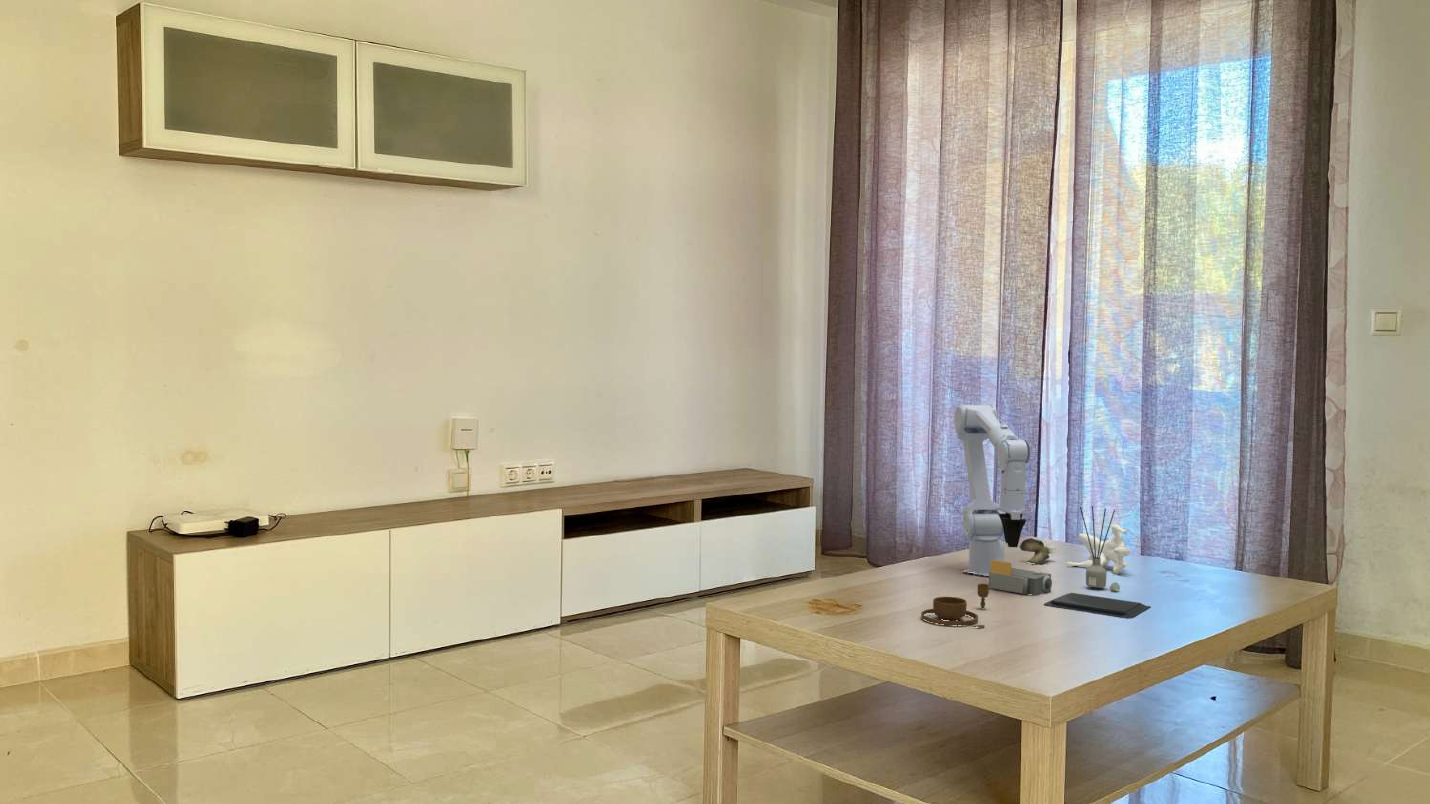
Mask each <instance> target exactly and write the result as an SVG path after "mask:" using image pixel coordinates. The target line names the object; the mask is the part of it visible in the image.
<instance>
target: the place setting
mask: <svg viewBox="0 0 1430 804" xmlns="http://www.w3.org/2000/svg"><path fill="white" fill-rule="evenodd" d="M989 593H990V588H989V584H988V583H987V584H986V583H979V584H977V595H978V597H980V603H979V604H980V608H985V606H986V601H985V600H986V598H987V597H988V596H989ZM932 601H933V603H932V605H933V607H932V608H929V609H924V610H923V611H921V613H920V614H921V615H920V616H921V618H923V619H925V620H927V621H929V622H933V623H938V624H944V625H957V626H958V625H962V626H961V627H964V626H963V625H970V626H971V627H976V626H977V627H979V628H978V629H977V630H980V628H982V629H984V628H985V624H977V623H978V620H979V615H978V614H976V613H975V612H972V611H970V610H967V605H968V604H967V603H968V602H967V600H966V599H963V598H960V597H954V596H938V597H935V598H934V599H932ZM926 613H935V615H936V617H937V618H939V619H934V618H932V617H929V616H927V617H926V616H924V614H926ZM965 614H966V615H969V616H971V617H973V618H974V619H970V620H961V619H962V618H964V617H965ZM935 615H934V616H935ZM940 618H941V619H943V620H949V621H943V620H940ZM923 619H922V620H923ZM956 620H959V621H956ZM972 624H973V625H972ZM975 624H977V625H975Z"/></svg>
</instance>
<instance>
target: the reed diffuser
mask: <svg viewBox="0 0 1430 804" xmlns="http://www.w3.org/2000/svg"><path fill="white" fill-rule="evenodd" d="M1079 510H1080V514H1081V517H1082V521H1083V524H1084V528H1085V534H1087V536H1088V535H1089V532H1088V529H1087V525H1086V521H1085V517H1084V514H1083V513H1084V512H1083V509H1082V507H1081V506H1080V507H1079ZM1106 511H1107V509H1106V508H1104V511H1103V512H1104V513H1103V516H1102V517H1103V519H1102V524H1101V531H1100V536H1099V539H1100V542H1099V549H1098V551H1097V550H1096V547H1095V537H1096V535H1095V532H1096V531H1095V516H1094V515H1095V514H1094V506H1093V505H1091V513H1092V515H1091V516H1092V528H1093V533H1092V534H1093V536H1094V549H1095V550H1094V552H1095V557H1094V555H1093V551H1092V547H1091V543H1090V540H1089V536H1088V540H1089V544H1090V548H1091V552H1092V555H1093V560H1092V565H1091V566H1090V567H1086V570H1085V585H1086V586H1088V587H1092V588H1105V587H1106V585H1107V569H1106V568H1104V566H1103V567H1102V566H1101V558H1100V556H1101V553H1102V549H1103V546H1104V543H1105V541H1107V537H1108V533H1109V531H1110V527H1111V526H1112V525H1111V524H1112V521H1113V518H1114V515H1115V513H1116V509H1113V512H1112V515H1111V518H1110V521H1109V524H1108V528H1107V530H1106V532H1105V533H1106V534H1105V537H1104V540H1103V541H1104V543H1103V546H1102V549H1101V552H1100V553H1099V550H1100V544H1101V541H1102V536H1103V530H1104V523H1105V517H1106ZM1099 554H1100V555H1099ZM1098 556H1099V557H1098ZM1109 590H1110V591H1112V592H1119V591H1120V590H1121V585H1120V584H1119V583H1118V582H1113V583H1111V584H1110V586H1109Z"/></svg>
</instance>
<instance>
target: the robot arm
mask: <svg viewBox="0 0 1430 804" xmlns="http://www.w3.org/2000/svg"><path fill="white" fill-rule="evenodd" d="M998 416H999V415H998V411H997V408H996V406H995V405H994V404H979V405H978V404H959V405H957V407H956V409H955V412H954V426H955V432H956V437H957V439H958V440H961V441H962V444H963V450H964V457H965V464H966V471H967V478H968V479H967V480H968V486H969V492H970V499H971V502H970V503H969V504H968V505H967V506H965V508H964V509H963V511H962V531H963V534H964V535H965V537H966V538H967V539H969V540H968V542H969V543H968V546H969V548H968V569H969V570H968V571H967V570H966V569H965V570H966V571H965V572H975V573H977V574H981V575H986V576H989V571H990V569H991V560H996V561H1003V562H1005V546H1004V543H1003V541H1002V540H1001V537H1002V538H1004V541H1005V543H1006V544H1007V546H1008V548H1018V547H1019V543H1020V538H1021V534H1022V530H1023V529H1024V526H1025V524H1026V523H1027V519H1026V518H1023V513H1025V512H1026V507H1025V503H1026V502H1025V501H1026V464H1028V463H1029V461H1030V458H1031V454H1032V453H1031V451H1032V450H1031V445H1030V443H1029V441H1028V439H1026V438H1021V439H1019V438H1018V437H1017V435H1016V434H1015V433H1014V432H1013V431H1012V430H1011V428H1010V427H1009V426H1008V425H1007V424H1001V422H999V419H998V418H999V417H998ZM987 440H988V441H989V442H990V444H991V445H992V446H993V447H994V448H995V450H996V454H997V459H998V469H999V470H1000V493H999V494H1000V498H999V501H1000V502H999V504H998V503H996V502H994V500H992V499H991V498H992V497H991V491H990V490H991V489H990V485H989V478H988V472H987V465H986V457H985V452H984V445H983V443H984V441H987ZM1003 512H1004V513H1003ZM981 575H980V576H981ZM986 576H985V577H986Z"/></svg>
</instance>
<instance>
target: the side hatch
mask: <svg viewBox="0 0 1430 804" xmlns="http://www.w3.org/2000/svg"><path fill="white" fill-rule="evenodd" d="M1011 568H1012V562H1007V561H1004V562H1003V561H996V560H991V569H990V588H989V589H995V590H999V591H1000V590H1001V591H1006V592H1011V593H1016V594H1022V595H1028V578H1024V577H1018V576H1012V575H1011Z"/></svg>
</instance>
